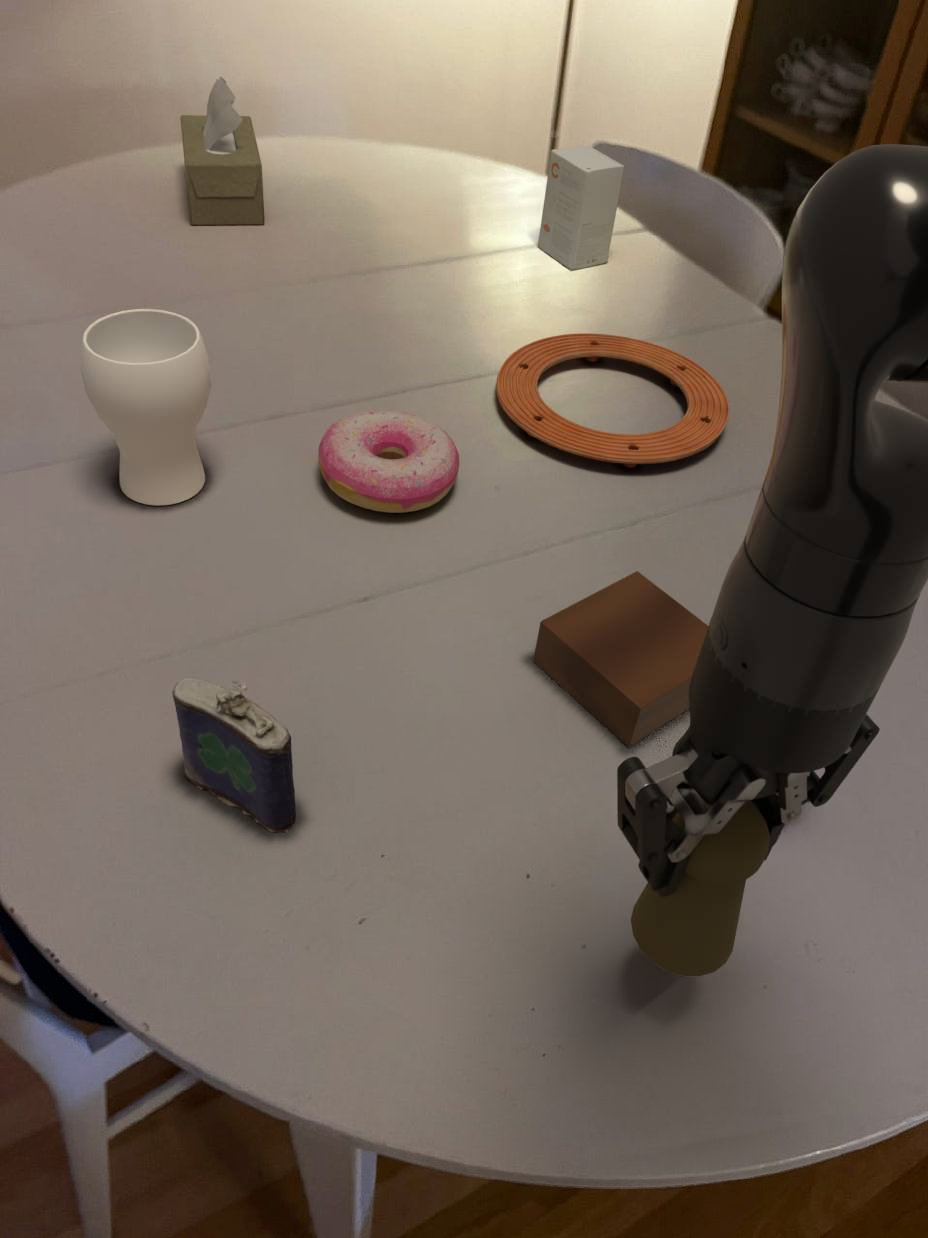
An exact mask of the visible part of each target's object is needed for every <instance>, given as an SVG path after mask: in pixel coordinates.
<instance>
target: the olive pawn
mask: <svg viewBox="0 0 928 1238" xmlns="http://www.w3.org/2000/svg"><path fill="white" fill-rule="evenodd" d="M697 794H698V793H697ZM698 795H699V794H698ZM699 796H700V795H699ZM700 798H701V796H700ZM701 799H702V798H701ZM702 801H703V802H704V803H705V805H706V806H707V807H708V809H709V810H710V808H711V807H712V806H711V805H709V804H707V803H706V802H705V801H704V800H703V799H702ZM672 820H673V822H674V823H675V825H676V826H677V828H678V829H679V831H680V832H681V831H682V830H683V829H684V827H685V821H684V819H683V818H682V816H681V815H680V813H679V812H678V813H677V814H676V815H675V816H674V818H673V819H672ZM768 847H769V831H768V827H767V823H766V821H765V819H764V817H763V815H762V814H761V812H760V811H759V809H758V808H757V806H756V805H755V804H754V803H752V802H751V801H746V802H744V803H743V805H742V806H741V807H740V808H739V809H738V811H737V812H736V813H735V814H734V816H733V817H732V818H731V819H730V820H729V822H728V823H727V824H726V825H725V826H724V828H723V829H722V830H721V831H720V833H719V834H717V835H707V836H704V837H703V838H702V840H701V841H700V842H699V843H698V844H697V846H696V847H695V848H694V849H693V851H692V852H691V853H690V854H689V856H690V858H689V861H688V863H687V866H686V868H685V871H684V873H683V876H682V878H681V881H680V883H679V886H678V888H677V891H676V893H674V894H671V895H668V896H666V897H661V896H660V895H659V894H658V892H657V891H653V890H652V889H651V887H650V885H649V884H648V882H647V883H646V884H645V886H644V888H643V890H642V891H641V893H640V894H639V897H638V898H637V900H636V902H635V903H634V905H633V907H632V912H631V917H630V926H631V932H632V937H633V938H634V940H635V942H636V944H637V946H638V949H639V950H640V951H641V953H643V954H644V955H645V957H646V958H647V959H648V960H649V961H650V962H651V963H652V964H654V965H656V966H658V967H659V968H661V969H662V970H664V971H665V972H667V973H671V974H675V975H678V976H680V977H694V978H695V977H696V978H697V977H698V978H699V977H703V976H706V975H709V974H710V975H711V974H713V973H715V972H716V971H718V970H719V969H720V968H722V967H723V966H724V965H726V964H727V962H728V960H729V958H730V957H731V955H732V953H733V952H734V947H735V941H736V936H737V935H736V934H737V931H738V927H739V920H740V915H741V909H742V904H743V899H744V893H745V888H746V882H747V880H748V879H749V878H751V877H753V876H754V875H755V874H757V872H758V871H759V870H760V868H761V866H762V865H763V863H764V862H765V861H766V860H765V858H766V856H767V854H768ZM764 860H765V861H764Z"/></svg>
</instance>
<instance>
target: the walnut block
mask: <svg viewBox="0 0 928 1238" xmlns="http://www.w3.org/2000/svg"><path fill="white" fill-rule="evenodd" d="M708 626H709V624H706V623H705V622H704V621H703V620H701V619H700V618H699V617H697V616H696V615H695V614H694V613H693V612H691V611H689V609H688V608H686V607H685V606H683V604H680V602H678V601H677V600H676V599H675V598H673V597H672V596H671V595H669V594H668V593H667V592H666V591H664V590H662V588H660V587H658V585H656V584H655V583H654V582H653V581H651V580H650V579H649V578H647V577H646V576H645V575H643V574H642V573H641V572H640V571H638V570H637V571H635V572H632V573H630V574H628V575H626V576H625V577H623V578H621V579H619V580H617V581H615V582H613V583H610V584H609V585H607V586H605V587H603V588H602V589H599V590H598V591H596V592H594V593H592V594H589V595H588V596H587V597H585V598H582V599H580V600H579V601H577V602H574V603H573V604H571V605H569V606H568V607H565V608H564V609H561V610H559V611H557V612H556V613H554V614H552V615H550V616H548V617H546V618H544V619H542V620H541V621H540V623H539V628H538V633H537V638H536V643H535V649H534V654H533V658H532V661H533V662H534V663H535V664H536V665H537V666H538V667H539V668H540V669H541V670H542V671H543V672H545V673H546V674H547V675H548V676H549V677H550V678H551V679H552V680H553V681H555V682H556V683H557V684H558V685H559V686H560V687H561V688H562V689H563V690H564V691H565V692H567V694H568V695H570V696H571V697H572V698H573V699H575V700H576V702H577V703H579V704H580V705H581V706H582V707H583V708H584V709H585V710H587V712H588V713H590V714H591V715H592V716H593V717H594V718H595V719H597V721H598V722H600V724H602V725H603V726H604V727H605V728H606V729H608V730H609V732H611V733H612V734H613V735H614V736H615V737H616V738H617V739H618V740H620V742H621V743H623V744H624V745H625V746H626V747H627V748H630V747H632V746H633V745H635V744H637V743H639V742H640V741H641V740H643V739H644V738H646V737H648V736H649V735H650V734H652V733H654V732H655V731H657V730H659V729H660V728H661V727H663V726H665V725H666V724H668V723H669V722H671V721H673V720H674V719H675V718H678V717H679V716H680V715H681V714H684V713H686V712H687V711H688V710H690V709H689V685H690V681H691V677H692V674H693V671H694V668H695V665H696V662H697V659H698V656H699V654H700V651H701V648H702V645H703V642H704V639H705V635H706V632H707V629H708Z"/></svg>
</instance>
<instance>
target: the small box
mask: <svg viewBox="0 0 928 1238" xmlns="http://www.w3.org/2000/svg"><path fill="white" fill-rule="evenodd" d="M624 171H625V165H623V164H622V163H620V162H619V161H616V160H615V159H614V158H613V159H612V158H611V157H610V156H608V155H606V154H604V153H603V152H601V151H599V150H597V149H595V148H594V147H592V146H591V145H588V144H587V145H579V146H570V147H562V148H555V149H551V150H550V157H549V165H548V171H547V177H546V185H545V192H544V200H543V205H542V206H543V207H542V213H541V222H540V228H539V234H538V240H537V241H538V242H537V247H538V248H539V249H540V250H542V251H543V252H545V254H548V255H549V256H551V257H552V258H553V259H555V260H556V261H558V262H559V263H560V264H561V265H563V266H565V267H566V268H567V269H569V270H570V271H573V270H579V269H584V268H589V267H594V266H598V265H603V264H606V263H608V259H609V254H610V248H611V242H612V237H613V232H614V226H615V222H616V214H617V209H618V206H619V205H618V204H619V198H620V194H621V188H622V182H623V177H624Z"/></svg>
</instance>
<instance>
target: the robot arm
mask: <svg viewBox="0 0 928 1238" xmlns="http://www.w3.org/2000/svg"><path fill="white" fill-rule="evenodd" d="M805 195H806V196H805V197H804V198H803V200H802V202H801V203H800V205H799V206H798V208H797V210H796V212H795V214H794V216H793V219H792V221H791V224H790V227H789V230H788V233H787V236H786V240H785V245H784V250H783V258H782V273H781V342H782V345H781V347H782V348H781V349H782V351H781V376H780V377H781V378H780V379H781V380H780V391H779V403H778V405H779V406H778V410H777V411H778V412H777V422H776V426H775V427H776V428H775V436H774V440H773V441H774V443H773V446H772V447H773V448H772V453H771V457H770V462H769V465H768V467H767V470H766V473H765V476H764V480H763V483H762V484H761V485H762V486H761V488H760V492H759V494H758V497H757V500H756V503H755V506H754V509H753V512H752V515H751V517H750V521H749V524H748V527H747V530H746V533H745V536H744V539H743V540H742V542H741V544H740V546H739V548H738V550H737V552H736V553H735V556H734V557H733V559H732V560H731V563H730V565H729V567H728V569H727V571H726V574H725V577H724V579H723V582H722V585H721V588H720V590H719V594H718V597H717V600H716V603H715V606H714V608H713V613H712V616H711V618H710V620H709V623H708V629H707V632H706V635H705V639H704V642H703V645H702V648H701V651H700V654H699V656H698V659H697V662H696V665H695V668H694V671H693V674H692V677H691V681H690V685H689V709H688V710H689V726H688V728H687V729H686V731H685V732H684V734H683V735H682V736H681V737H680V738H679V739H678V740H677V742H676V743H675V745H674V746H673V748H672V753H671V754H672V756H670V757H668V758H666V759H663V760H661V761H659V762H657V763H654V764H652V765H650V766H648V767H646V766H645V764H644V763H643V762H642V760H641V759H640V757H638V756H631V757H629V758H626V759H625V760H623V761H622V762H621V763H620V764H619V766H618V767H617V770H616V779H617V780H616V781H617V782H616V784H617V785H616V787H617V788H616V790H617V793H616V794H617V796H616V798H617V799H616V800H617V801H616V803H617V807H616V808H617V809H616V810H617V827H618V828H619V830H620V832H621V833H622V835H623V836H624V838H625V839H626V841H627V843H628V844H629V846H630V847H631V849H632V850H633V852H634V853H635V855H636V857H637V858H638V860H639V862H638V866H637V867H638V869H639V871H640V873H641V875H642V877H644V879H645V881H646V882H647V883H648V884H649V885H650V887H651V889H652V890H653V891H657V892H658V894H659V895H660V896H661V897H666V896H668V895H671V894H674V893H676V891H677V888H678V886H679V883H680V881H681V878H682V876H683V873H684V871H685V868H686V866H687V863H688V861H689V858H690V856H689V854H690V853H691V852H692V851H693V849H694V848H695V847H696V846H697V844H698V843H699V842H700V841H701V840H702V838H703V837H704V836H707V835H717V834H719V833H720V831H721V830H722V829H723V828H724V826H725V825H726V824H727V823H728V822H729V820H730V819H731V818H732V817H733V816H734V814H735V813H736V812H737V811H738V809H739V808H740V807H741V806H742V805H743V803H744V802H746V801H751V802H752V803H754V804H755V805H756V806H757V808H758V809H759V811H760V812H761V814H762V815H763V817H764V819H765V821H766V823H767V827H768V831H769V847H768V854H767V856H766V858H765V860H764V862H765V861H766V860H767V859H768V858H769V855H770V853H771V851H772V849H773V847H774V846H775V845H776V844H777V842H778V840H779V838H780V836H781V834H782V831H783V829H784V828H785V826H786V824H790V823H791V822H794V821H795V820H796V819H798V818H799V816H800V815H801V813H802V811H803V809H802V806H803V805H805V804H807V803H808V802H809V803H810V804H811V805H812V806H813V807H814V808H818V807H821V806H823V805H825V804H826V803H828V801H829V800H831V798H833V796H834V794H835V793H836V792H837V790H838V789H839V787H840V786H841V785H842V784H843V782H844V781H845V779H846V778H847V776H848V775H849V774H850V773H851V771H852V770H853V768H854V767H855V766H856V765H857V763H858V762H859V760H861V757H862V756H863V755H864V753H865V752H866V751H867V749H868V748H869V747H870V745H871V744H872V743H873V741H874V740H875V738H876V737H877V736H878V735H879V733H880V727H879V726H878V725H877V723H876V722H875V721H874V720H873V719H872V718H871V717H870V715H869V714H868V711H869V709H870V707H871V706H872V704H873V702H874V700H875V698H876V696H877V694H878V692H879V690H880V688H881V686H882V684H883V683H884V680H885V679H886V677H887V675H888V673H889V671H890V669H891V667H892V665H893V663H894V661H895V660H896V657H897V655H898V653H899V652H900V650H901V647H902V645H903V643H904V641H905V639H906V636H907V633H908V631H909V627H910V624H911V621H912V617H913V614H914V611H915V609H916V606H917V603H918V602H919V601H918V600H919V599H920V596H921V593H922V591H923V589H924V587H925V586H926V583H927V582H928V419H925V418H924V417H922V416H920V415H917V414H915V413H912V412H910V411H908V410H905V409H902V408H899V407H896V406H894V405H891V404H888V403H886V402H882V401H879V400H876V397H877V395H878V393H879V392H880V390H881V388H882V386H883V385H884V383H885V382H900V383H913V384H914V383H917V384H928V146H926V145H917V144H916V145H915V144H900V143H899V144H898V143H885V144H884V143H883V144H872V145H867V146H865V147H862V148H860V149H856V150H853V151H852V152H850V153H849V154H847V155H846V156H844V157H842V158H840V159H839V160H837V161H836V162H835V163H834V164H833V165H832V166H831V167H829V168H828V169H827V170H826V171H825V172H824V173H823V174H822V175H821V176H820V177H819V178H818V180H817V181H816V182H815V183H814V185H813V186H812V187H811V188H810V189H809V190H808V192H807V193H806V194H805ZM823 768H824V773H823V774H822V776H819V775H818V774H817V773H816V771H818V770H821V769H823ZM697 793H698V794H699V795H700V796H701V798H702V799H703V800H704V801H705V802H706V803H707V804H709V805H711V806H712V807H711V808H710V810H709V809H708V807H707V806H706V805H705V803H704V802H703V801H702V799H701V798H700V796H699V795H698V794H697ZM678 812H679V813H680V815H681V816H682V818H683V819H684V821H685V827H684V829H683V830H682V831H681V832H680V831H679V829H678V828H677V826H676V825H675V823H674V822H673V820H672V819H673V818H674V816H675V815H676V814H677V813H678Z"/></svg>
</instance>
